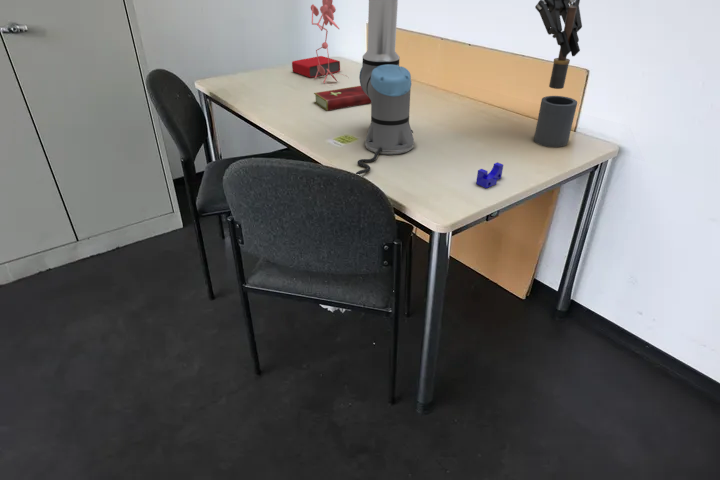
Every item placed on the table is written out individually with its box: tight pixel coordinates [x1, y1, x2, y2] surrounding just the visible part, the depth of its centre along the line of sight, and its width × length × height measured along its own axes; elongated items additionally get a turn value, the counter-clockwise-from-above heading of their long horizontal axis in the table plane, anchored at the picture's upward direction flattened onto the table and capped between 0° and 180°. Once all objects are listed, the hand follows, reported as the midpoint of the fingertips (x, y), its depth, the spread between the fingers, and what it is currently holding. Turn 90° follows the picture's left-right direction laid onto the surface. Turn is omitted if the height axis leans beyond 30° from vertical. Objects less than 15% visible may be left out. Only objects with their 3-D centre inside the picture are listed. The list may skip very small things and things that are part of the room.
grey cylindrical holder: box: [533, 95, 578, 148], centre depth 150 cm, size 10×10×13 cm
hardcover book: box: [313, 85, 371, 112], centre depth 189 cm, size 12×21×4 cm, turn 118°
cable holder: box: [475, 161, 504, 189], centre depth 129 cm, size 8×4×4 cm, turn 128°
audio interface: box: [291, 55, 341, 78], centre depth 229 cm, size 18×14×5 cm
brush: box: [548, 5, 577, 90], centre depth 140 cm, size 4×4×22 cm
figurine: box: [310, 0, 349, 84], centre depth 210 cm, size 15×26×35 cm, turn 29°
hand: (571, 53), depth 137 cm, fingers closed on brush, 2 cm apart
